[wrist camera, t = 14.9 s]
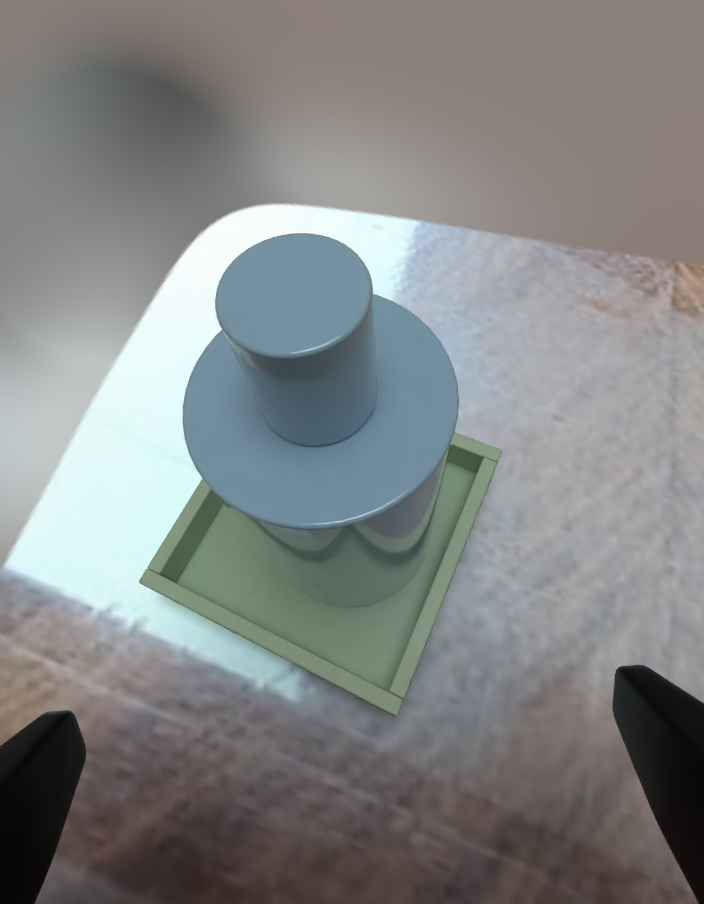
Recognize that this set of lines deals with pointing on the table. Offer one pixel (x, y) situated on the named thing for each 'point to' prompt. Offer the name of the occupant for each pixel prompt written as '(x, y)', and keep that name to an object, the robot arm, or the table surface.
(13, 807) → the robot arm
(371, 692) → the tray
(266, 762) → the table surface
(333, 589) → the bottle
